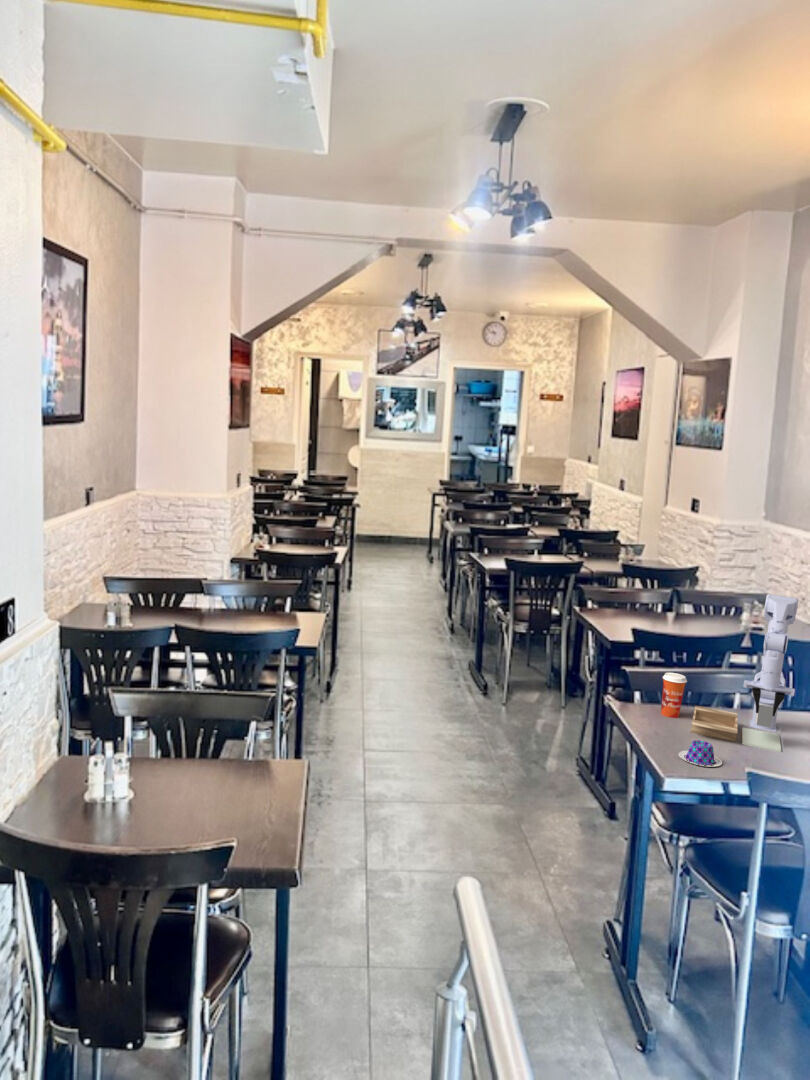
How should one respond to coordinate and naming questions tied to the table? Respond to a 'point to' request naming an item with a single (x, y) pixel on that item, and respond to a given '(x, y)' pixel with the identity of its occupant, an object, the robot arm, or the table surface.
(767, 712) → the block
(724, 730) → the light wood shallow tray
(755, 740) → the board
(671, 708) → the paper cup
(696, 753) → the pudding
